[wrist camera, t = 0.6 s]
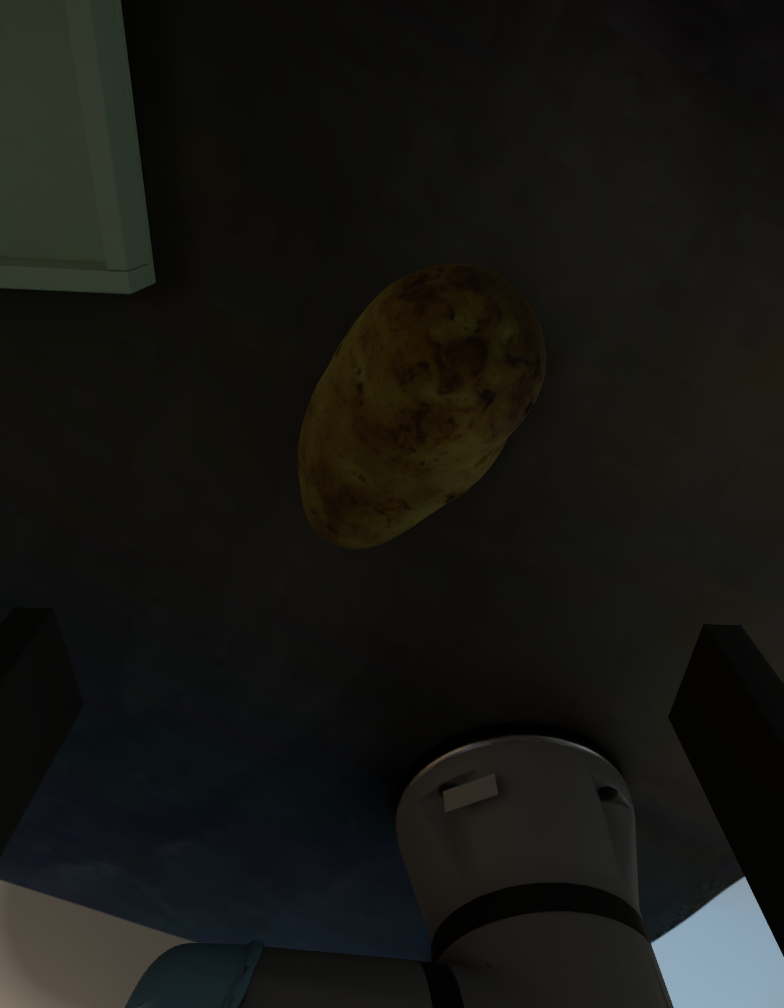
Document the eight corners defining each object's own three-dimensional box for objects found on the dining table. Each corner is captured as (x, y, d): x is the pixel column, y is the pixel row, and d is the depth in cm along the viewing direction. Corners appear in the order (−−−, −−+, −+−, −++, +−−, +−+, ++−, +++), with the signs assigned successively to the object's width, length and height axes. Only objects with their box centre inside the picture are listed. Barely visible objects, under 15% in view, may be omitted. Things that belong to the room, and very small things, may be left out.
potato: (231, 415, 28) (179, 494, 21) (450, 211, 24) (476, 224, 17) (354, 532, 31) (345, 635, 24) (566, 367, 27) (629, 432, 20)
